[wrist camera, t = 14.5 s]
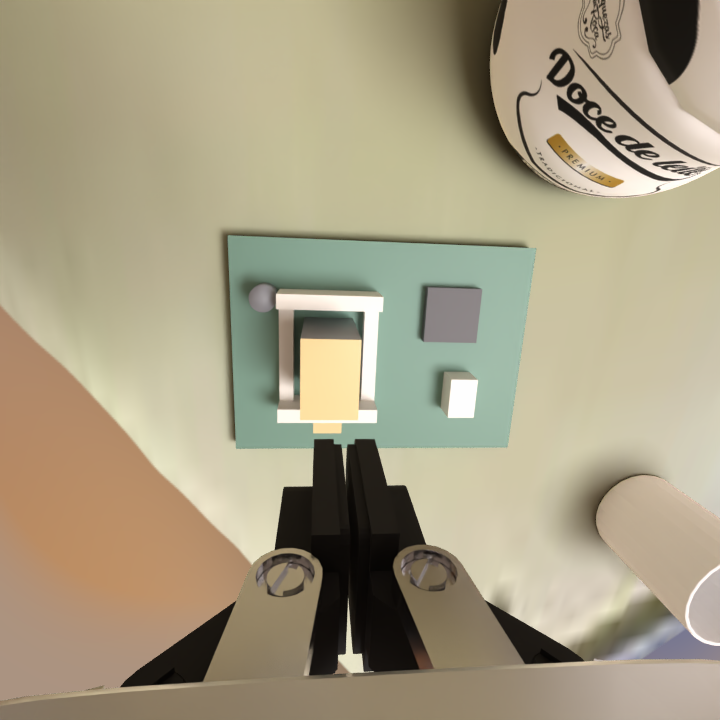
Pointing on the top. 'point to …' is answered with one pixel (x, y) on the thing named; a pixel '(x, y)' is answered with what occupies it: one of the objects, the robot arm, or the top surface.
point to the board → (380, 338)
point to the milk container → (610, 91)
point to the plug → (329, 369)
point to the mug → (667, 548)
